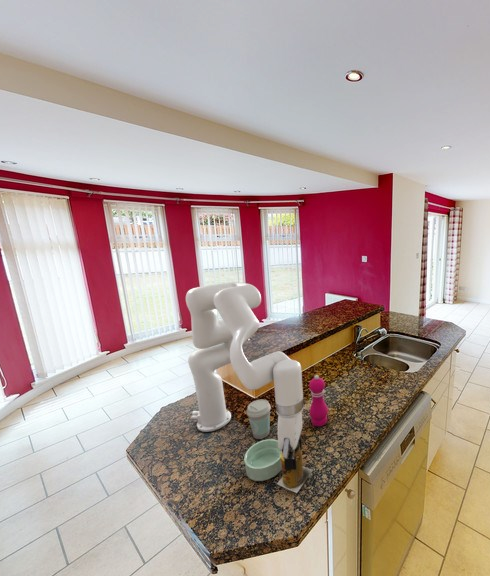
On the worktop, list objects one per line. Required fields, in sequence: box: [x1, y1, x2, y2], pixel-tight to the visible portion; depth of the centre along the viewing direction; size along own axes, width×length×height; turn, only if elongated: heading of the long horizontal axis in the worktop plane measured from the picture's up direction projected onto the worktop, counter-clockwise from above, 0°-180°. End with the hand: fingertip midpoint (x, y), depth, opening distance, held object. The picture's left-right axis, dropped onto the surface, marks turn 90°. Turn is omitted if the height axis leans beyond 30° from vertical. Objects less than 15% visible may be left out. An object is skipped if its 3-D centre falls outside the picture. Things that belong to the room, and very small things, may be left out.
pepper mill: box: [308, 374, 329, 427], centre depth 110 cm, size 7×7×20 cm
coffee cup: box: [246, 399, 272, 440], centre depth 105 cm, size 8×8×12 cm
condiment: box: [276, 442, 314, 494], centre depth 83 cm, size 7×8×12 cm
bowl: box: [243, 438, 282, 482], centre depth 91 cm, size 12×12×5 cm
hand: (293, 458), depth 82 cm, fingers closed on condiment, 6 cm apart
